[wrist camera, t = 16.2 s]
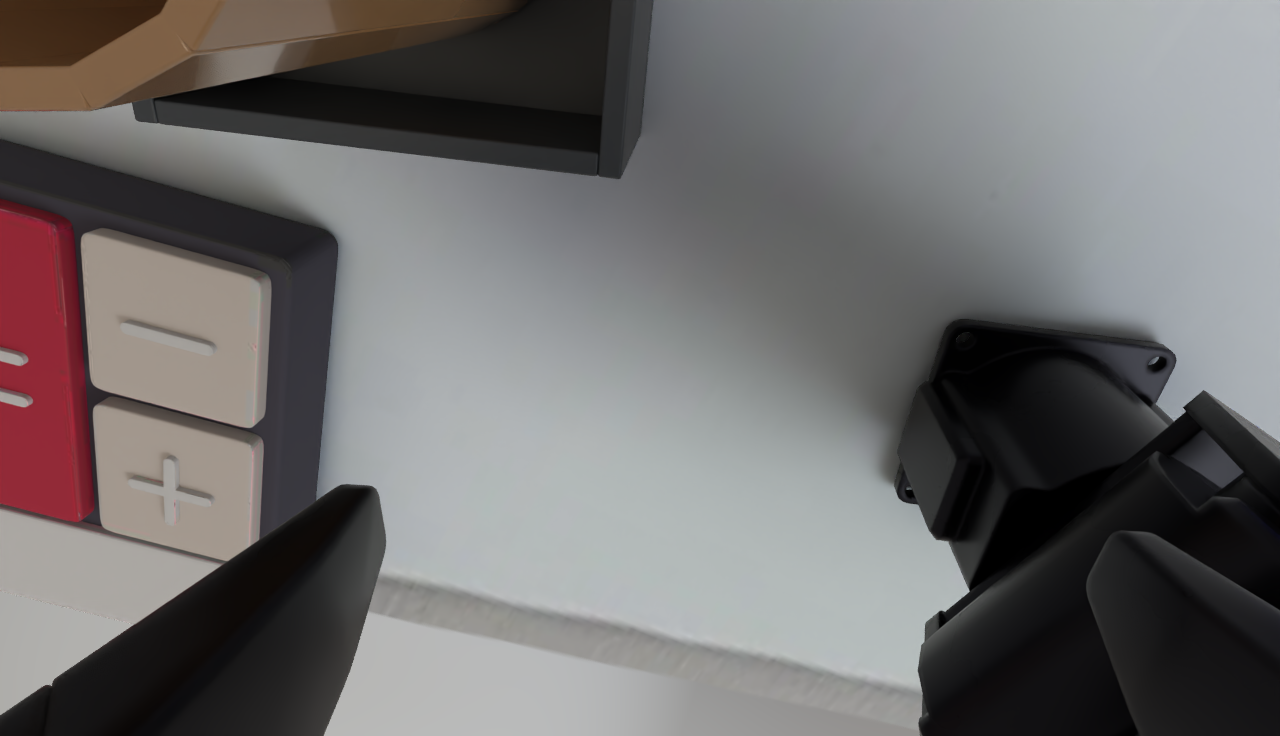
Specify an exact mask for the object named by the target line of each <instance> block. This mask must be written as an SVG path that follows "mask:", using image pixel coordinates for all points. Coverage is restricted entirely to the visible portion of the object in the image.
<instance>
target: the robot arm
mask: <svg viewBox="0 0 1280 736" xmlns="http://www.w3.org/2000/svg"><path fill="white" fill-rule="evenodd" d="M966 332H969V333H970V336H969V338H968V339H967V340H966V341H964V342H956V339H957V338H958V336H959V335H960V334H962V333H966ZM1155 357H1159V359H1158V360H1157V362H1156V363H1154V364H1152V365H1148V363H1149V361H1150V360H1151V359H1153V358H1155ZM1175 364H1176V356H1175V354H1174V353H1173V352H1172V351H1171V350H1169V349H1168V348H1167V347H1166V346H1164V345H1163V344H1160V343H1155V342H1147V341H1139V340H1131V339H1123V338H1115V337H1107V336H1099V335H1091V334H1083V333H1075V332H1067V331H1059V330H1051V329H1042V328H1034V327H1026V326H1018V325H1010V324H1002V323H994V322H986V321H978V320H970V319H959V320H957V321H954V322H952V323H951V324H950V325H949V326H948V327H947V328H946V330H945V332H944V334H943V337H942V340H941V343H940V346H939V349H938V352H937V355H936V358H935V361H934V364H933V367H932V371H931V374H930V377H929V380H928V381H926V382H924V383H923V384H922V385H921V386H919V387H918V389H917V392H916V395H915V398H914V401H913V404H912V407H911V410H910V414H909V417H908V420H907V423H906V426H905V429H904V432H903V435H902V438H901V441H900V444H899V447H898V455H899V458H900V460H901V464H900V467H899V470H898V473H897V476H896V479H895V483H894V487H895V490H896V493H897V495H898V497H899V499H900V500H902V501H903V502H906V503H910V504H918V505H919V507H920V509H921V512H922V514H923V517H924V519H925V522H926V524H927V527H928V529H929V531H930V532H931V534H932V535H933V536H934V537H935V539H936V540H942V541H948V542H949V545H950V547H951V549H952V552H953V554H954V556H955V558H956V561H957V563H958V565H959V568H960V570H961V572H962V575H963V577H964V579H965V582H966V584H967V586H968V588H969V591H970V592H969V593H968V594H966V595H965V596H964V597H963V598H962V599H960V600H959V601H958V602H957V603H956V604H954V605H953V606H952V607H951V608H950V609H948V610H947V611H946V612H944V611H939V612H938V613H937V614H936V615H934V616H933V617H932V618H931V619H930V620H928V621H927V622H926V624H925V642H924V643H923V644H922V645H921V652H920V659H919V666H918V673H919V678H920V682H921V687H922V692H923V701H922V717H921V718H920V719H919V731H920V736H1280V442H1278V441H1277V440H1276V439H1274V438H1273V437H1271V436H1270V435H1268V434H1267V433H1265V432H1264V431H1262V430H1261V429H1260V428H1258V427H1257V426H1255V425H1254V424H1252V423H1251V422H1249V421H1248V420H1247V419H1245V418H1244V417H1242V416H1241V415H1239V414H1238V413H1236V412H1235V411H1233V410H1232V409H1231V408H1229V407H1228V406H1226V405H1225V404H1223V403H1222V402H1220V401H1219V400H1217V399H1216V398H1215V397H1213V396H1212V395H1210V394H1209V393H1207V392H1206V391H1204V390H1203V391H1202V392H1201V393H1200V394H1199V395H1197V396H1196V397H1195V398H1194V399H1193V400H1191V401H1190V402H1189V403H1188V404H1187V405H1186V406H1184V407H1183V408H1184V409H1185V410H1186V412H1185V413H1184V414H1183V415H1182V416H1180V417H1179V418H1178V419H1177V420H1176V421H1173V420H1172V419H1171V418H1170V417H1169V416H1168V415H1167V414H1166V413H1165V412H1163V411H1162V410H1161V409H1160V408H1159V407H1158V406H1157V405H1156V402H1157V400H1158V398H1159V396H1160V394H1161V392H1162V390H1163V388H1164V386H1165V385H1166V383H1167V381H1168V379H1169V377H1170V375H1171V373H1172V371H1173V369H1174V367H1175ZM910 485H911V487H912V490H906V488H907V487H908V486H910ZM385 547H386V534H385V528H384V522H383V516H382V510H381V504H380V499H379V494H378V492H377V490H376V489H375V488H374V487H372V486H368V485H351V484H344V485H340V486H338V487H336V488H334V489H333V490H331V491H330V492H328V493H327V494H326V495H324V496H323V497H321V498H320V499H318V500H317V501H315V502H314V503H312V504H311V505H309V506H308V507H306V508H305V509H304V510H302V511H301V512H299V513H298V514H296V515H295V516H293V517H292V518H290V519H289V520H287V521H286V522H284V523H283V524H281V525H280V526H279V527H277V528H276V529H274V530H273V531H271V532H270V533H268V534H267V535H265V536H264V537H262V538H261V539H259V540H258V541H256V542H255V543H254V544H252V545H251V546H249V547H248V548H246V549H245V550H243V551H242V552H240V553H239V554H237V555H236V556H234V557H233V558H231V559H230V560H229V561H227V562H226V563H224V564H223V565H221V566H220V567H218V568H217V569H215V570H214V571H212V572H211V573H209V574H208V575H206V576H205V577H204V578H202V579H201V580H199V581H198V582H196V583H195V584H193V585H192V586H190V587H189V588H187V589H186V590H184V591H183V592H181V593H180V594H179V595H177V596H176V597H174V598H173V599H171V600H170V601H168V602H167V603H165V604H164V605H162V606H161V607H159V608H158V609H156V610H155V611H154V612H152V613H151V614H149V615H148V616H146V617H145V618H143V619H142V620H140V621H139V622H137V623H136V624H134V625H133V626H131V627H130V628H129V629H127V630H126V631H124V632H123V633H121V634H120V635H118V636H117V637H115V638H114V639H112V640H111V641H109V642H108V643H107V644H105V645H104V646H102V647H101V648H99V649H98V650H96V651H95V652H93V653H92V654H90V655H89V656H88V657H86V658H84V659H83V660H82V661H80V662H79V663H77V664H76V665H74V666H73V667H71V668H70V669H68V670H67V671H65V672H64V673H62V674H61V675H59V676H58V677H57V678H55V679H54V681H53V683H52V686H50V685H45V686H43V687H41V688H40V689H38V690H37V691H36V692H34V693H33V694H31V695H30V696H28V697H27V698H25V699H24V700H22V701H21V702H19V703H18V704H16V705H15V706H13V707H12V708H11V709H9V710H8V711H6V712H5V713H3V714H2V715H0V736H324V733H325V731H326V728H327V726H328V724H329V721H330V719H331V716H332V714H333V712H334V709H335V707H336V704H337V702H338V700H339V697H340V695H341V692H342V690H343V687H344V685H345V682H346V680H347V677H348V674H349V672H350V669H351V666H352V663H353V660H354V656H355V653H356V650H357V646H358V643H359V640H360V636H361V633H362V629H363V626H364V623H365V619H366V616H367V612H368V609H369V605H370V602H371V599H372V595H373V592H374V588H375V585H376V581H377V578H378V574H379V571H380V568H381V564H382V561H383V557H384V553H385Z"/></svg>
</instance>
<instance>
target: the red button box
mask: <svg viewBox="0 0 1280 736" xmlns="http://www.w3.org/2000/svg"><path fill="white" fill-rule="evenodd" d="M337 257H338V244H337V241H336V239H335V238H334V236H333V235H332V234H330V233H329V232H327V231H325V230H321V229H318V228H315V227H311V226H308V225H304V224H301V223H297V222H293V221H290V220H286V219H283V218H279V217H276V216H272V215H268V214H265V213H261V212H258V211H254V210H251V209H247V208H243V207H240V206H236V205H233V204H229V203H226V202H222V201H218V200H215V199H211V198H208V197H204V196H201V195H197V194H193V193H190V192H186V191H183V190H179V189H176V188H172V187H168V186H165V185H161V184H158V183H154V182H151V181H147V180H143V179H140V178H136V177H133V176H129V175H126V174H122V173H118V172H115V171H111V170H108V169H104V168H101V167H97V166H93V165H90V164H86V163H83V162H79V161H76V160H72V159H68V158H65V157H61V156H58V155H54V154H50V153H47V152H43V151H40V150H36V149H33V148H29V147H25V146H22V145H18V144H15V143H11V142H8V141H4V140H0V591H1V592H5V593H10V594H13V595H18V596H21V597H26V598H30V599H33V600H37V601H42V602H46V603H50V604H54V605H58V606H62V607H66V608H70V609H74V610H78V611H82V612H86V613H90V614H94V615H98V616H102V617H106V618H110V619H114V620H118V621H122V622H126V623H130V624H136V623H137V622H139V621H140V620H142V619H143V618H145V617H146V616H148V615H149V614H151V613H152V612H154V611H155V610H156V609H158V608H159V607H161V606H162V605H164V604H165V603H167V602H168V601H170V600H171V599H173V598H174V597H176V596H177V595H179V594H180V593H181V592H183V591H184V590H186V589H187V588H189V587H190V586H192V585H193V584H195V583H196V582H198V581H199V580H201V579H202V578H204V577H205V576H206V575H208V574H209V573H211V572H212V571H214V570H215V569H217V568H218V567H220V566H221V565H223V564H224V563H226V562H227V561H229V560H230V559H231V558H233V557H234V556H236V555H237V554H239V553H240V552H242V551H243V550H245V549H246V548H248V547H249V546H251V545H252V544H254V543H255V542H256V541H258V540H259V539H261V538H262V537H264V536H265V535H267V534H268V533H270V532H271V531H273V530H274V529H276V528H277V527H279V526H280V525H281V524H283V523H284V522H286V521H287V520H289V519H290V518H292V517H293V516H295V515H296V514H298V513H299V512H301V511H302V510H304V509H305V508H306V507H308V506H309V505H311V504H312V503H314V502H315V501H316V491H317V479H318V468H319V457H320V446H321V435H322V424H323V413H324V402H325V391H326V379H327V368H328V357H329V346H330V335H331V324H332V313H333V302H334V291H335V280H336V268H337Z"/></svg>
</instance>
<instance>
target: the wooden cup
mask: <svg viewBox="0 0 1280 736" xmlns="http://www.w3.org/2000/svg"><path fill="white" fill-rule="evenodd" d="M528 1H529V0H0V111H92V110H97V109H102V108H107V107H112V106H117V105H122V104H127V103H132V102H137V101H142V100H146V99H151V98H156V97H161V96H166V95H171V94H176V93H181V92H186V91H191V90H196V89H201V88H206V87H211V86H216V85H221V84H226V83H231V82H236V81H241V80H246V79H251V78H256V77H261V76H266V75H271V74H276V73H281V72H285V71H290V70H295V69H300V68H305V67H310V66H315V65H320V64H325V63H330V62H335V61H340V60H345V59H350V58H355V57H360V56H365V55H370V54H375V53H380V52H385V51H390V50H395V49H400V48H405V47H410V46H415V45H419V44H424V43H429V42H434V41H439V40H444V39H449V38H454V37H459V36H464V35H469V34H473V33H476V32H478V31H480V30H482V29H484V28H487V27H489V26H492V25H494V24H496V23H499V22H501V21H502V20H504V19H506V18H507V17H509V16H511V15H512V14H514V13H516V12H517V11H518V10H520V9H521V7H523V6H524V5H525V4H526V3H527V2H528Z"/></svg>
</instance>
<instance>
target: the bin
mask: <svg viewBox="0 0 1280 736" xmlns="http://www.w3.org/2000/svg"><path fill="white" fill-rule="evenodd" d="M652 9H653V0H529V1H528V2H527V3H526V4H525V5H524V6H523V7H521V9H520V10H518V11H517V12H516V13H514V14H512V15H511V16H509V17H507V18H506V19H504V20H502V21H501V22H499V23H496V24H494V25H492V26H489V27H487V28H484V29H482V30H480V31H478V32H476V33H473V34H469V35H464V36H459V37H454V38H449V39H444V40H439V41H434V42H429V43H424V44H419V45H415V46H410V47H405V48H400V49H395V50H390V51H385V52H380V53H375V54H370V55H365V56H360V57H355V58H350V59H345V60H340V61H335V62H330V63H325V64H320V65H315V66H310V67H305V68H300V69H295V70H290V71H285V72H281V73H276V74H271V75H266V76H261V77H256V78H251V79H246V80H241V81H236V82H231V83H226V84H221V85H216V86H211V87H206V88H201V89H196V90H191V91H186V92H181V93H176V94H171V95H166V96H161V97H156V98H151V99H146V100H142V101H137V102H132V105H133V110H134V114H135V119H136V120H137V121H140V122H149V123H160V124H165V125H174V126H182V127H190V128H199V129H207V130H215V131H224V132H232V133H240V134H248V135H257V136H265V137H273V138H282V139H290V140H298V141H307V142H315V143H323V144H332V145H340V146H348V147H357V148H365V149H373V150H381V151H390V152H398V153H406V154H415V155H423V156H431V157H440V158H448V159H456V160H465V161H473V162H481V163H489V164H498V165H506V166H514V167H523V168H531V169H539V170H548V171H556V172H564V173H573V174H581V175H589V176H597V174H598V175H599V176H600V177H606V178H614V179H620V178H621V176H622V174H623V172H624V170H625V167H626V165H627V163H628V161H629V159H630V156H631V154H632V152H633V150H634V148H635V145H636V143H637V141H638V139H639V137H640V134H641V124H642V113H643V103H644V92H645V82H646V72H647V61H648V51H649V40H650V30H651V20H652Z"/></svg>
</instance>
